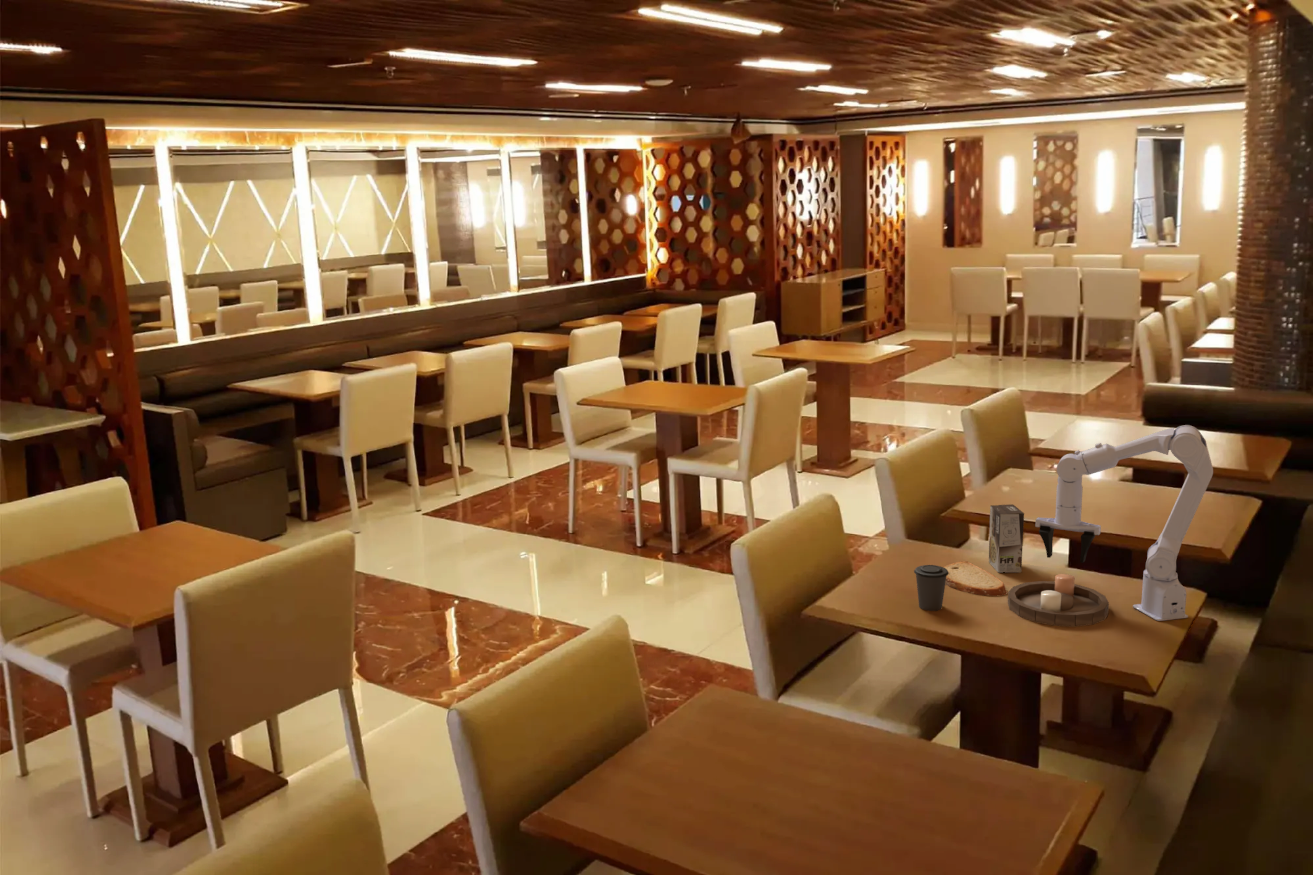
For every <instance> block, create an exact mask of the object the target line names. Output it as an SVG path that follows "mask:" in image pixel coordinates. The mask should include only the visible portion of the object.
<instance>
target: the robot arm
mask: <svg viewBox="0 0 1313 875" xmlns="http://www.w3.org/2000/svg"><path fill="white" fill-rule="evenodd" d="M1207 444H1208V443H1207V441H1206V438H1204V436H1203V434H1202V433H1201V432H1200V430H1199V429H1198V428H1197V427H1195V426H1192V425H1190V424H1185V425H1179V426H1177V427H1176V428H1175V427H1171V428H1169V427H1168V428H1167V429H1164V430H1163V429H1162V430H1160V431H1157V432H1153V433H1151V434H1148V435H1145V436H1142V437H1139V438H1136V439H1134V440H1131V441H1127V442H1125V443H1121V444H1119V445H1116V446H1114V445H1111V444H1109V443H1105V444H1102V442H1098V443H1096V444H1095V445H1094V447H1092V448H1091V447H1090V448H1088V449H1085V450H1082V451H1080V450H1079V449H1078V450H1075V451H1074V453H1067V454H1064V455H1063V456H1062V457H1061V458H1060V459H1059V462H1058V463H1057V466H1056V474H1057V475H1058V477H1057V484H1056V494H1055V495H1056V496H1055V516H1054V518H1053V517H1039V516H1038V517H1037V518H1036V519H1035V528H1039V530H1038V533H1039V535H1040V537H1041V540H1042V542H1043V545H1044V548H1045V552H1046V557H1047V558H1049V559H1050V558H1051V557H1052V556H1053V551H1054V550H1053V549H1054V548H1053V540H1054V532H1055V529H1056V530H1063V531H1064V530H1065V531H1070V532H1071V531H1072V532H1077V533H1082V534H1081V535H1080V544H1081V545H1080V547H1081V548H1080V549H1081V550H1080V558H1079V560H1080V561H1079V562H1080V563H1081V564H1083V563H1085V562H1086V558H1087V554H1088V551H1089V549H1090V546H1091V545H1092V542H1093V540H1094V539H1095V537H1096V536H1099V535H1100V534H1101V533H1102V532H1101V529H1102V526H1101V525H1099V524H1095V523H1089V522H1085V521H1082V506H1083V484H1082V483H1083V476H1085V475H1086V476H1089V475H1093V474H1095V473H1099V472H1102V471H1106V470H1110V469H1112V468H1115V467H1116V466H1117V465H1118V463H1119V461H1121V460H1124V459H1129V458H1133V457H1135V456H1140V455H1144V454H1148V453H1152V452H1157V453H1159V454H1163V455H1167V456H1168V455H1169V451H1170V452H1171V454H1172V455H1173V456H1174V458H1176V459H1177V460H1179V461H1180V462H1181V463H1182V464H1183V466H1184V468H1185V470H1186V471H1187V476H1186V478H1185V480H1184V482H1183V485H1182V487H1181V489H1180V491H1179V494H1178V496H1177V498H1176V500H1175V503H1174V505H1173V507H1172V509H1171V512H1170V514H1169V516H1168V518H1167V520H1166V523H1165V525H1164V527H1163V529H1162V532H1161V533H1160V534H1159V536H1158V539H1157V540H1156V541H1155V543H1153V544H1151V546H1150V547H1148V550H1147V555H1146V557H1147V559H1146V562H1145V569H1144V570H1143V574H1142V575H1143V577H1142V589H1141V590H1142V591H1141V603H1137V604H1133V605H1132V608H1134V609H1136V610H1137V611H1139V612H1140V613H1143V614H1145V615H1146V616H1148V617H1149V618H1151V619H1153V620H1155V621H1158V622H1161V621H1171V620H1179V619H1187V618H1189V615H1188V614H1186V604H1187V590H1186V588H1185V587H1184V586H1183V585H1182V583H1181V582H1180V581H1179V578H1178V576H1179V575H1178V572H1176V571H1177V558H1178V555H1179V552H1180V549H1181V546H1182V543H1183V541H1184V539H1185V536H1186V535H1187V533H1188V530H1189V528H1190V526H1191V523H1192V522H1193V520H1194V517H1195V515H1196V512H1197V510H1198V508H1199V506H1200V504H1201V501H1202V500H1203V497H1204V495H1205V492H1206V491H1207V489H1208V486H1209V485H1210V482H1211V480H1212V477H1213V475H1214V467H1213V464H1212V460H1211V455H1210V452H1209V448H1208V445H1207Z"/></svg>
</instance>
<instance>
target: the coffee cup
mask: <svg viewBox="0 0 1313 875" xmlns="http://www.w3.org/2000/svg"><path fill="white" fill-rule="evenodd" d="M944 567H945V566H940V565H935V564H924V565H919V566H917V567H915V569H914V570H913V573H914V574H915V576H916V578H915V579H916V588H917V597H918V607H919V608H920V609H922V610H924V611H929V612H937V611H940V610H942V608H943V602H944V596H945V590H946V585H945V583H946V576H947V575H948V574H949V572H948V571H947V569H946V568H944Z"/></svg>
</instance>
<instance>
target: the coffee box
mask: <svg viewBox="0 0 1313 875" xmlns="http://www.w3.org/2000/svg"><path fill="white" fill-rule="evenodd" d="M989 507H990V508H989V509H990V510H989V511H990V512H989V535H988V536H989V540H988V542H989V546H988V564H990V565H991V566H992V567H993V569H994V570H995V571H996V572H997V573H1003V572H1005V573H1022V564H1023V562H1022V560H1023V544H1024V542H1023V541H1024V524H1025V523H1024V521H1025V520H1024V519H1025V513H1024V512H1023V511H1022V510H1021V509H1019V508H1018V507H1017V506H1016V505H1015V504H1011V503H1010V504H998V505H997V504H995V505H990V506H989Z"/></svg>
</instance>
